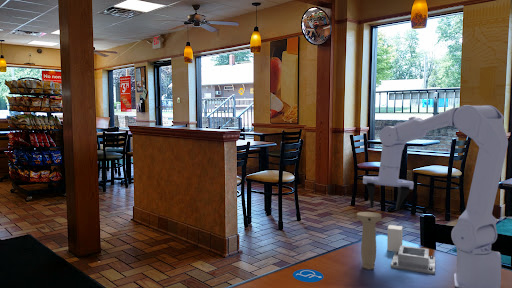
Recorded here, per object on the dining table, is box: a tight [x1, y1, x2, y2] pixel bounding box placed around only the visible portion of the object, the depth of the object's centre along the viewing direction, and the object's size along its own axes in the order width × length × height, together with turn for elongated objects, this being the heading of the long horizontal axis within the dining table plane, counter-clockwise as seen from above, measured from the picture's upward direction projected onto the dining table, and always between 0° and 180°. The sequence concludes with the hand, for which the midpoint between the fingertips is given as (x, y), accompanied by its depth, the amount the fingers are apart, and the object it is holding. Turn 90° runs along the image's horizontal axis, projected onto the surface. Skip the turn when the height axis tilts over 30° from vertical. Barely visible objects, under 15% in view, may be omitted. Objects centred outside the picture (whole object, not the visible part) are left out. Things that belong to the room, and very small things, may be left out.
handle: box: [356, 211, 382, 270], centre depth 105 cm, size 5×6×15 cm
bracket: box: [390, 245, 436, 275], centre depth 108 cm, size 11×11×4 cm
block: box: [386, 224, 404, 253], centre depth 119 cm, size 4×4×7 cm
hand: (384, 208), depth 118 cm, fingers open, 7 cm apart
